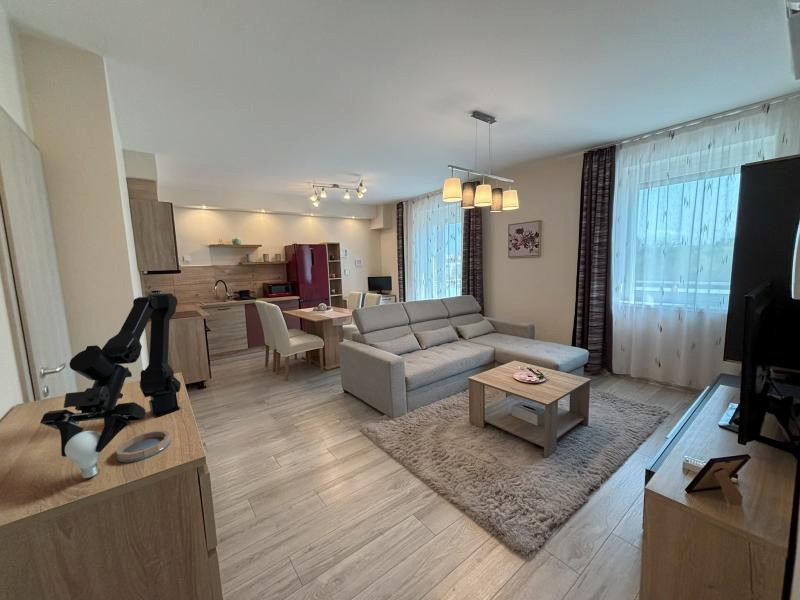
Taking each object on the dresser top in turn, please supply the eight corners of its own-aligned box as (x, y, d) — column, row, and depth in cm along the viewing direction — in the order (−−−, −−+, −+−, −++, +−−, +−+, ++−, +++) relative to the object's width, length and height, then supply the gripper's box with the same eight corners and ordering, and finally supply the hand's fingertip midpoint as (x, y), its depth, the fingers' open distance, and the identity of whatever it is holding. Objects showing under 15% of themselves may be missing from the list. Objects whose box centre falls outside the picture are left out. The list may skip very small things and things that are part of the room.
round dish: (162, 432, 92) (161, 425, 92) (177, 445, 86) (176, 438, 85) (111, 452, 83) (110, 445, 83) (123, 468, 77) (122, 460, 76)
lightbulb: (76, 490, 70) (66, 444, 68) (67, 480, 73) (58, 436, 72) (113, 472, 75) (105, 429, 73) (103, 464, 78) (95, 422, 77)
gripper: (38, 378, 73) (-1, 452, 64) (130, 370, 76) (105, 439, 67) (73, 396, 82) (43, 463, 73) (154, 388, 85) (135, 451, 76)
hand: (81, 454), depth 72 cm, fingers closed on lightbulb, 6 cm apart
